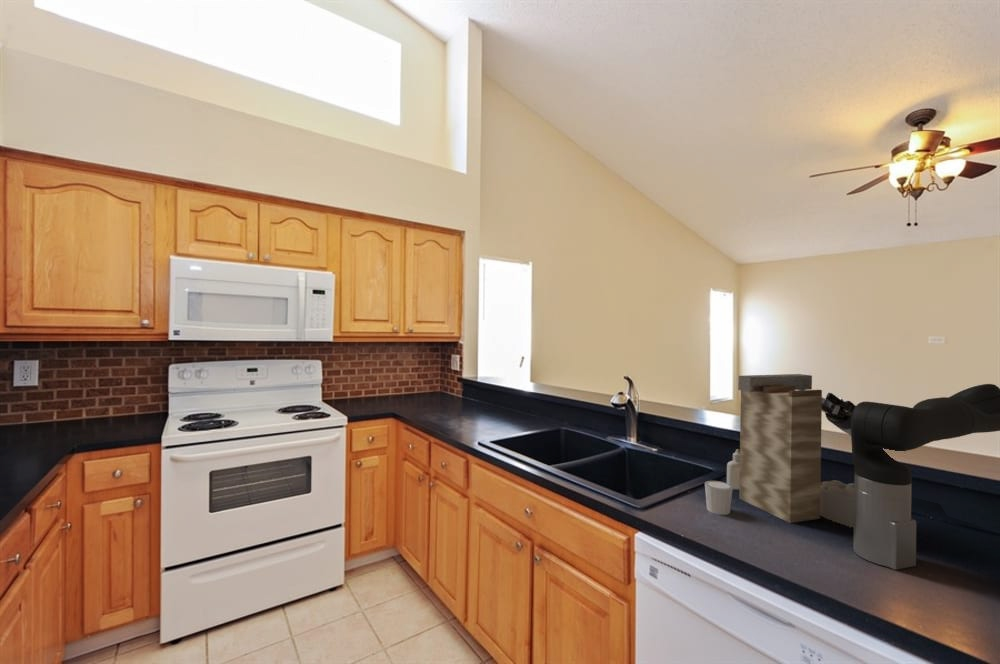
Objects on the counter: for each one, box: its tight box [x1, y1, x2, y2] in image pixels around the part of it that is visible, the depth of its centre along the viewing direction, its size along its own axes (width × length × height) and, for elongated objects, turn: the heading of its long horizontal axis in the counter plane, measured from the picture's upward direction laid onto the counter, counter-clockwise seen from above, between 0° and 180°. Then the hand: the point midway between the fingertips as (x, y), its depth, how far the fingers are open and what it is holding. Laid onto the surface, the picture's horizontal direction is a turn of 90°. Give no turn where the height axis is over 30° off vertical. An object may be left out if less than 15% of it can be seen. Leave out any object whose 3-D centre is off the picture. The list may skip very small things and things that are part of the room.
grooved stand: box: [738, 386, 823, 524], centre depth 118 cm, size 16×10×34 cm, turn 16°
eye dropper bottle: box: [726, 448, 740, 491], centre depth 133 cm, size 4×6×12 cm
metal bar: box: [737, 373, 813, 392], centre depth 123 cm, size 4×22×4 cm, turn 106°
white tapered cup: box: [704, 480, 734, 516], centre depth 117 cm, size 7×7×7 cm
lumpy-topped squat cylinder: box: [820, 479, 855, 529], centre depth 113 cm, size 10×13×9 cm
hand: (813, 393), depth 127 cm, fingers open, 8 cm apart
